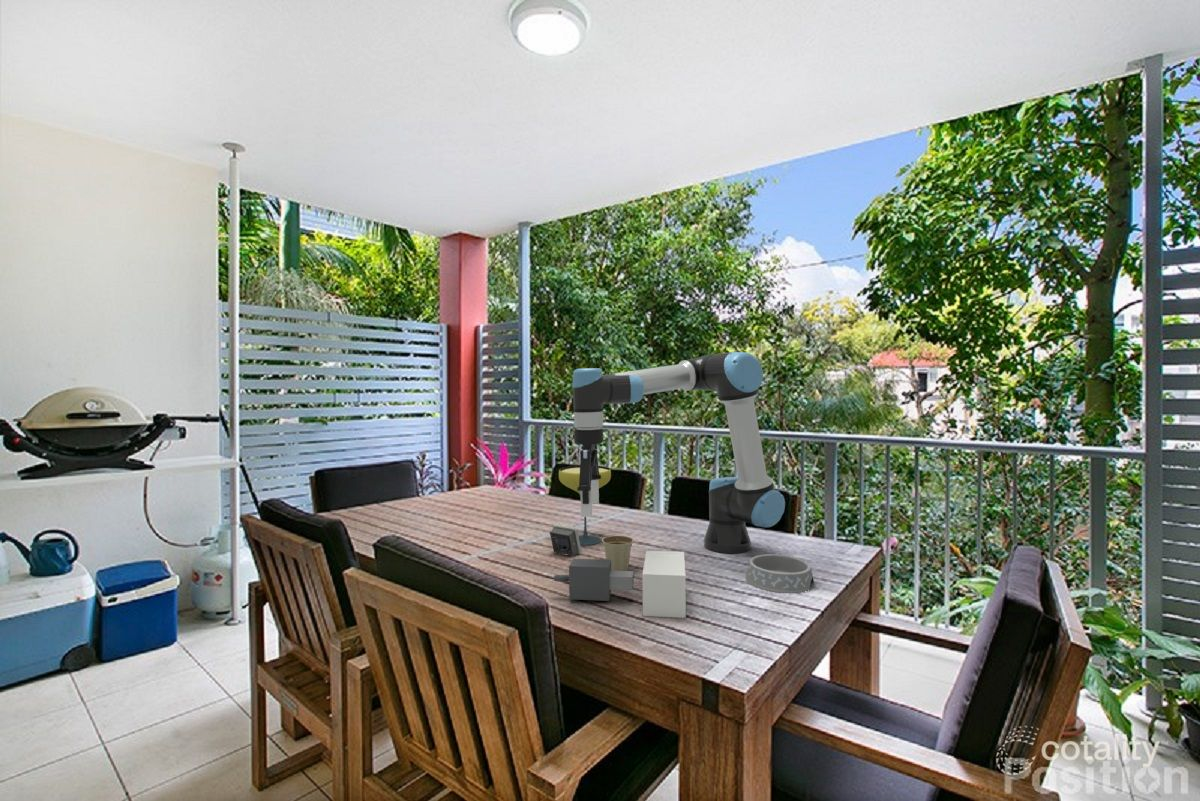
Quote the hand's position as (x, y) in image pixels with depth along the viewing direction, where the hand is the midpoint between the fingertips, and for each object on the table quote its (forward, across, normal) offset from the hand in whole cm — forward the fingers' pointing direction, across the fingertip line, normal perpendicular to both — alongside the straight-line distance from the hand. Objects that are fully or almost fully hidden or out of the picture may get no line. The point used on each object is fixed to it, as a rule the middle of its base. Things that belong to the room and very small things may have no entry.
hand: (590, 509), depth 143 cm
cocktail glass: (+23, -47, -9) cm, 53 cm away
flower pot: (+23, -20, +5) cm, 30 cm away
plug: (+21, +3, +1) cm, 22 cm away
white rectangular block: (+22, +3, +19) cm, 29 cm away
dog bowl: (+23, -14, +50) cm, 57 cm away
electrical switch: (+22, -32, -13) cm, 41 cm away
